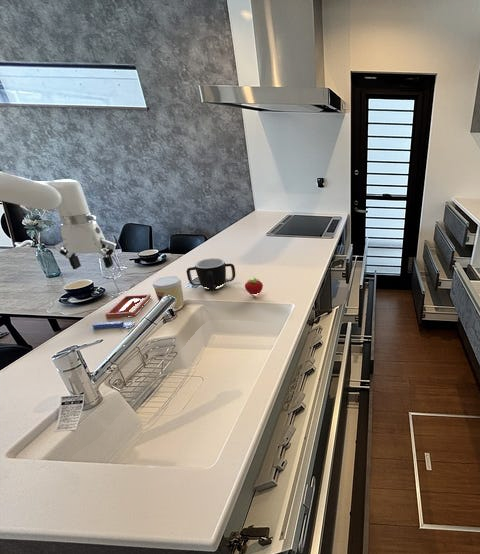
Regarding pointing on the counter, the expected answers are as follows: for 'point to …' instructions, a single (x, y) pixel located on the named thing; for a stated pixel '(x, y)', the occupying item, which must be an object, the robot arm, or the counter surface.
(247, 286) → the strawberry
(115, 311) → the red tray
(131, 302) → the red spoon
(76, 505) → the counter surface
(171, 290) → the coffee cup
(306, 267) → the counter surface
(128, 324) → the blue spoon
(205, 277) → the mug
